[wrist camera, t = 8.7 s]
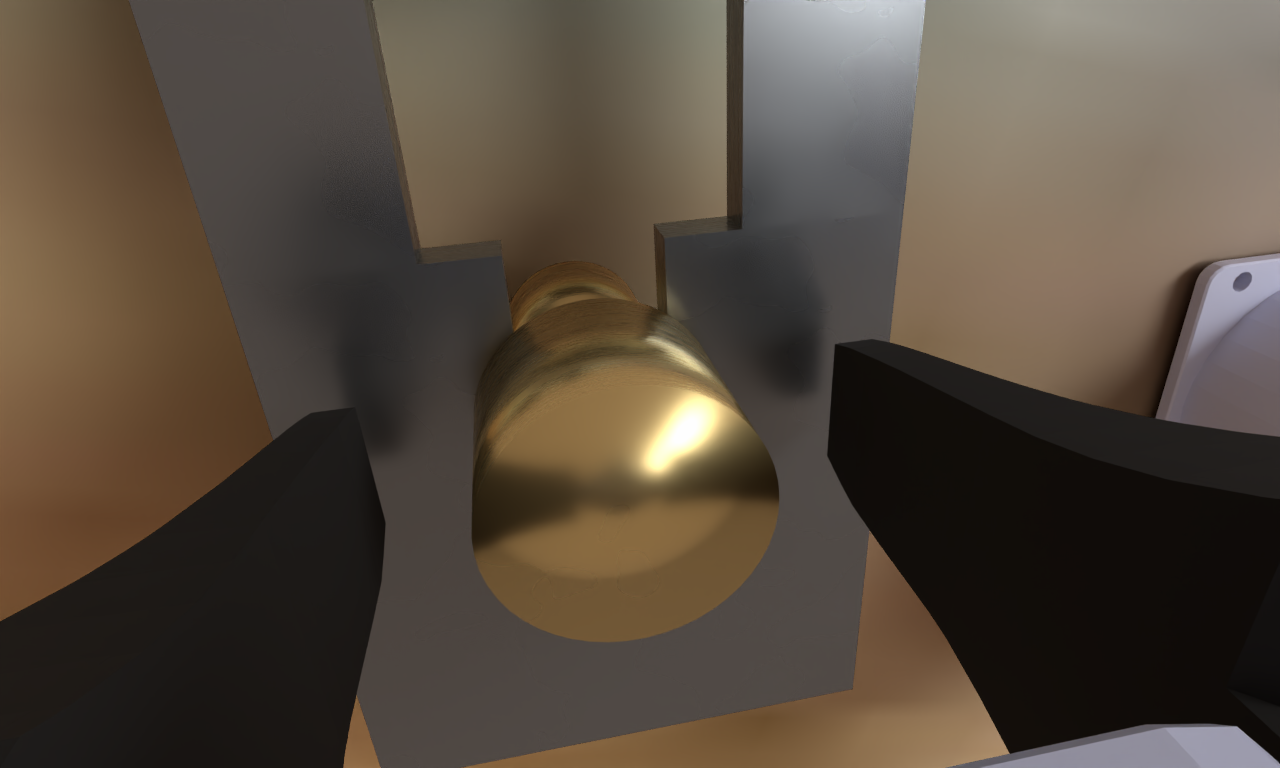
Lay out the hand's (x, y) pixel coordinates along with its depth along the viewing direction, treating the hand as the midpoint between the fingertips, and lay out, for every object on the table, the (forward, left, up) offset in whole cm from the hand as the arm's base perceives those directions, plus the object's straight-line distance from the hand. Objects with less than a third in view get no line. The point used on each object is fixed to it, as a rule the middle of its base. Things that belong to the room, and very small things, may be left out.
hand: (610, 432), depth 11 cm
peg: (0, 0, -5) cm, 5 cm away
